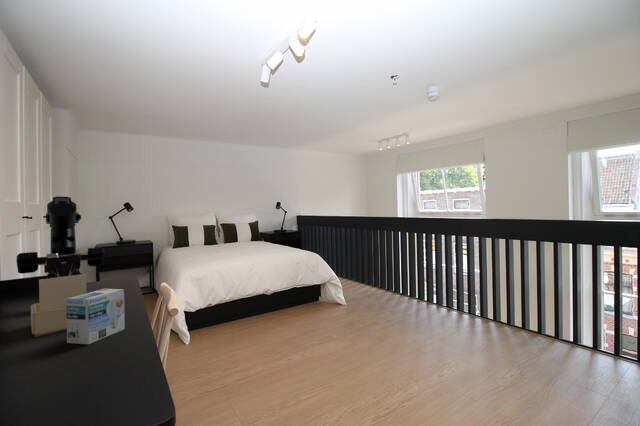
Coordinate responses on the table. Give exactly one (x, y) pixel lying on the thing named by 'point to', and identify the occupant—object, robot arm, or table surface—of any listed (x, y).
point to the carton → (48, 320)
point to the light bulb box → (95, 315)
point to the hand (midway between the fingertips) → (64, 283)
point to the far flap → (60, 290)
